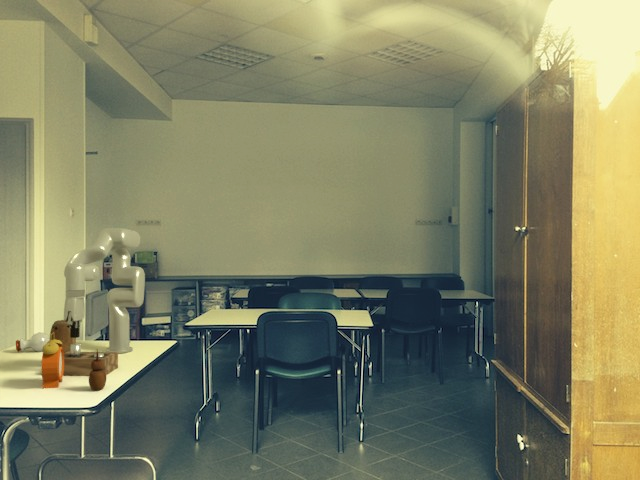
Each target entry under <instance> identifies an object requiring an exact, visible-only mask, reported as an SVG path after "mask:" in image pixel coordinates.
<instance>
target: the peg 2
mask: <svg viewBox="0 0 640 480" xmlns="http://www.w3.org/2000/svg"><path fill="white" fill-rule="evenodd" d="M96 355H97V354H94V357H96ZM103 356H104V353H98V357H103Z"/></svg>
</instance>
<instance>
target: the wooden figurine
mask: <svg viewBox="0 0 640 480" xmlns="http://www.w3.org/2000/svg"><path fill="white" fill-rule="evenodd" d="M96 352H97V355H96V360H93V361H92V362H91V368H92V371H91V372H90V374H89V376H88V384H89V387H90V389H91V390H92V391H101V390H103V389H104V388H105V386H106V383H107V375H106V372H105V370H104V369H103V367H104V361H103V360H101V359H99V357H98V352H99V349H96Z"/></svg>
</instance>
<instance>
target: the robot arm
mask: <svg viewBox="0 0 640 480" xmlns="http://www.w3.org/2000/svg"><path fill="white" fill-rule="evenodd" d="M140 244H141V236H140V233H139V232H137V231H136V230H133V229H132V230H131V229H129V228H124V227H123V228H121V227H117V228H116V227H112V228H111V227H110V228H109V227H106V228H102V229H101V230H99V232H98V234H97V235H96V236H95V238H94V240H93V241H92V243H91V244H90V245H89V246H88V247H86V248H84V249H82V250H80V251H79V252H77V253H76V254H74V255H73V256H71V258H69V261H68V262H67V263H66V265H65V267H64V270H63V276H64V278H65V300H64V308H63V320H64V321H65V322H67V321H68V325H70V337H71V338H76V339H77V338H80V328H81V323H82V322H83V319H85V316H86V315H85V314H86V308H85V305H86V304H85V297H86V282H93V281H95V280H97V279H98V278H99V276H100V268H99V267H98V266H97V265H96V264H94V263H96V262H99V261H102V260H105V258H107V256H108V255H109V253H111V256H112V265H111V267H112V268H111V281H112V283H113V284H114V285H117V286H132V287H114V288H111V289H110V290H108V292H107V295H106V298H107V299H106V302H107V305H108V316H109V319H108V322H109V324H108V325H109V326H108V327H109V329H108V333H109V334H108V337H109V339H108V340H109V341H108V343H109V345H108V348H106V349H105V352H118V354H126V353H130V352H132V351H133V350H134V348H133V347H132V346H130V344H131V339H130V314H129V311H128V310H127V308H140V307H141V306H143V304H144V300H145V299H144V298H145V286H146V285H145V283H146V274H145V271H144V269H143V268H142V267H140V266H134V265H133V266H131V261H132V258H131V257H132V256H131V254H130V252H129V251H128V250H127V249H135V248H138V247H139V246H140ZM72 320H73V321H72Z"/></svg>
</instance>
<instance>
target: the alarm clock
mask: <svg viewBox="0 0 640 480" xmlns="http://www.w3.org/2000/svg"><path fill="white" fill-rule="evenodd" d="M53 333H54V332H53ZM53 333H52V334H53ZM52 334H51V335H52ZM61 346H62V342H61V341H60V340H56V339H54V340H50V341H48V342H47V344H45V345H44V346H43V349H42V351H41V352H42V358H41V378H42V387H41V388H42V389H44V388H45V389H57V388H59V387H60V383H62V382H63V377H64V376H63V372H64V351H63V348H62V347H61ZM45 389H44V390H45Z"/></svg>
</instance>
